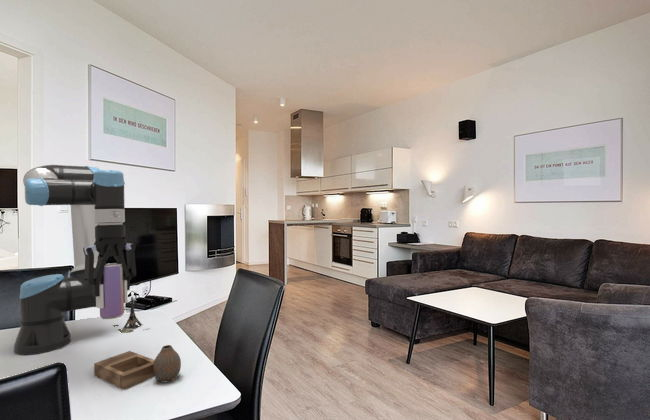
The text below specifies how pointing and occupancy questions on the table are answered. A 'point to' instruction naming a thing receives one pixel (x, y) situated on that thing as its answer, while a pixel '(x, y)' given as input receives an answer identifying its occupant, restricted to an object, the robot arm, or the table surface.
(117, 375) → the wooden recessed tray
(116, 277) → the beverage can
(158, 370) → the vase
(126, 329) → the eiffel tower figurine
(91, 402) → the table surface
